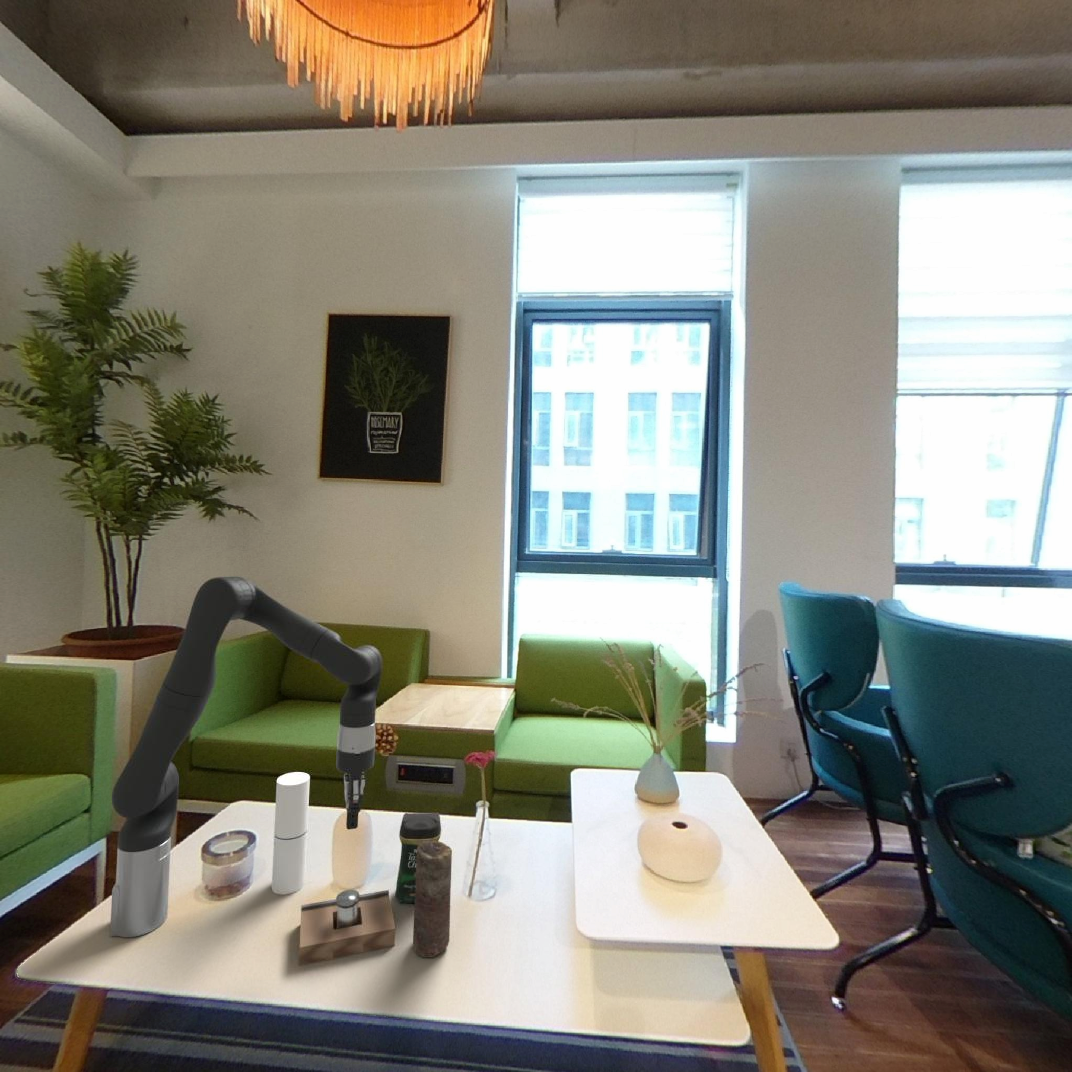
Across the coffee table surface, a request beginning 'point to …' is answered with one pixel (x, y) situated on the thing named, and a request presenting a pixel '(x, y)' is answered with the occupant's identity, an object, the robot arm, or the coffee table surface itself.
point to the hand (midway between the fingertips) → (351, 827)
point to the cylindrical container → (290, 832)
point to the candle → (432, 899)
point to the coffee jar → (414, 849)
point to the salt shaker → (347, 908)
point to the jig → (345, 929)
